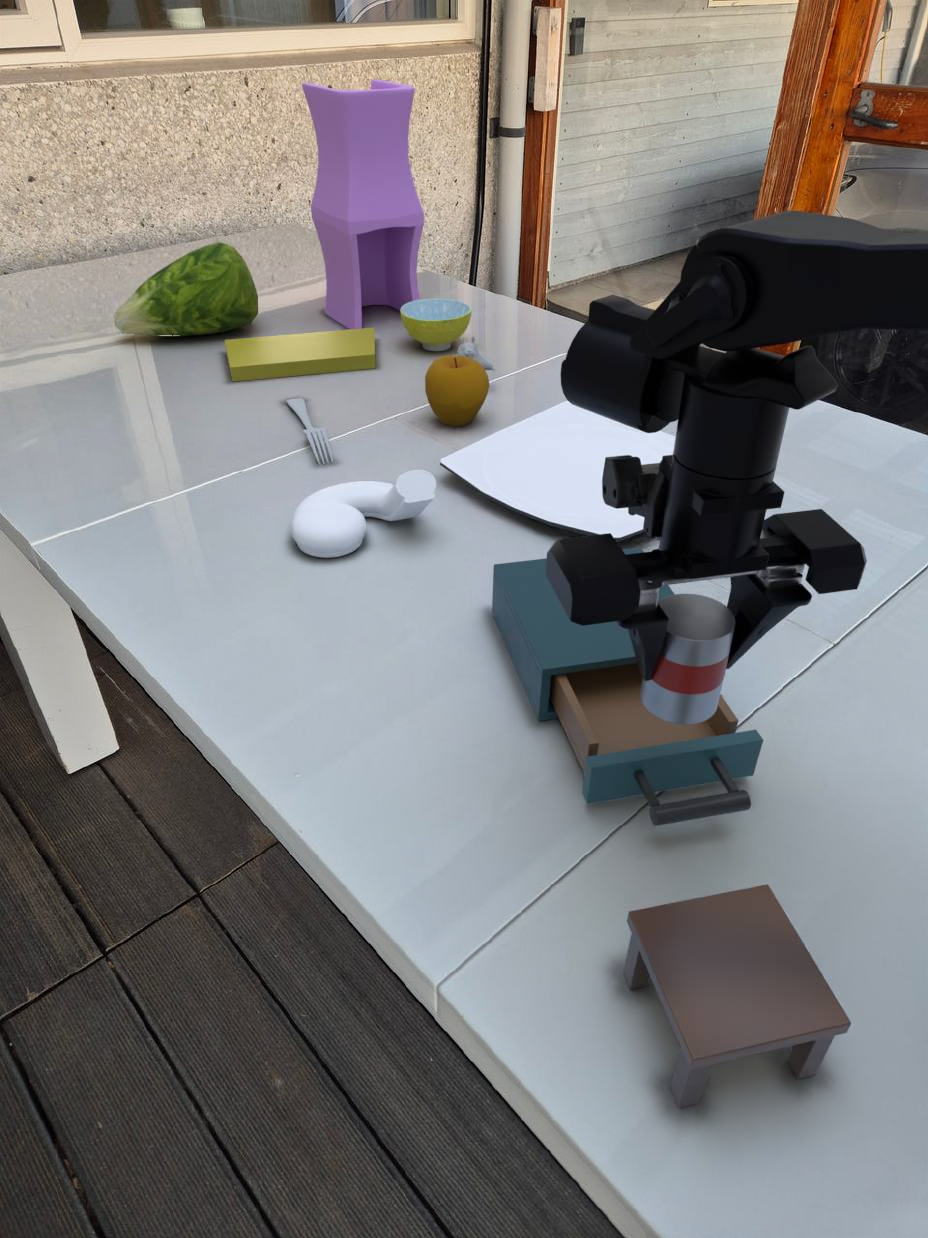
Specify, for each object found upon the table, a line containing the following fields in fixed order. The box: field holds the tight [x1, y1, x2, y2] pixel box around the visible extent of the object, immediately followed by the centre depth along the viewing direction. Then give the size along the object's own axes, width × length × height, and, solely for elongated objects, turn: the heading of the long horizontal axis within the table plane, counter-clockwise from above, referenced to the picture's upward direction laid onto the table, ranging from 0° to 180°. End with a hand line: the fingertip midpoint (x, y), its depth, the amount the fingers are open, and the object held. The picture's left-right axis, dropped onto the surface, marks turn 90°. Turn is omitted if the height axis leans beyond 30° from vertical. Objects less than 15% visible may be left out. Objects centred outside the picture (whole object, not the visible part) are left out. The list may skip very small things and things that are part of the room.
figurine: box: [455, 336, 496, 372], centre depth 129 cm, size 8×6×8 cm
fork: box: [285, 397, 334, 466], centre depth 118 cm, size 3×21×3 cm, turn 20°
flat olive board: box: [224, 326, 376, 382], centre depth 139 cm, size 12×2×24 cm
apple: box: [424, 355, 490, 427], centre depth 119 cm, size 8×8×9 cm
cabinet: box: [491, 546, 676, 722], centre depth 79 cm, size 16×15×6 cm
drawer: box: [549, 663, 764, 827], centre depth 69 cm, size 19×13×4 cm
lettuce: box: [113, 241, 259, 338], centre depth 145 cm, size 14×23×13 cm, turn 111°
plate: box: [439, 399, 676, 543], centre depth 107 cm, size 29×29×3 cm
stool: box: [623, 884, 852, 1110], centre depth 51 cm, size 9×9×6 cm
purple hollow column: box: [301, 79, 425, 330], centre depth 147 cm, size 14×14×35 cm
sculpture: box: [290, 469, 437, 559], centre depth 96 cm, size 12×15×8 cm
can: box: [640, 593, 736, 724], centre depth 59 cm, size 5×5×7 cm
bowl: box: [399, 297, 473, 352], centre depth 143 cm, size 11×12×6 cm
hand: (684, 670), depth 59 cm, fingers closed on can, 5 cm apart
